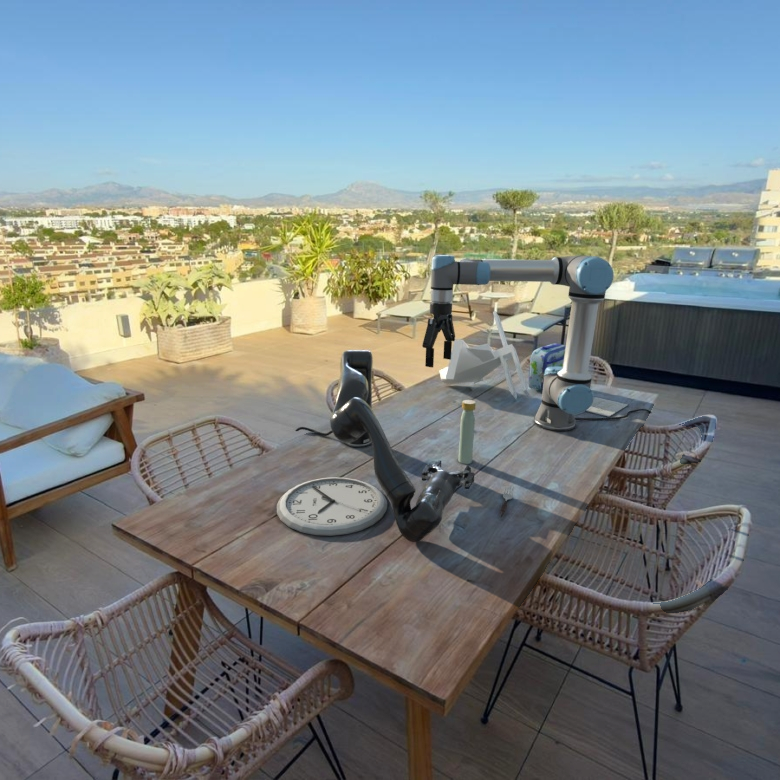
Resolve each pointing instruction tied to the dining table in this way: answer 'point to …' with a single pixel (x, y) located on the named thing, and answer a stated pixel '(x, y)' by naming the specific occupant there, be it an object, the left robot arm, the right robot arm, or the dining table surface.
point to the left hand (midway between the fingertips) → (454, 465)
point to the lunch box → (544, 363)
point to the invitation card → (605, 407)
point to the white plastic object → (482, 362)
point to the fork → (506, 497)
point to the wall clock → (331, 506)
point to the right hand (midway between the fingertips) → (438, 362)
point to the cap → (468, 405)
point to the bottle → (466, 437)
